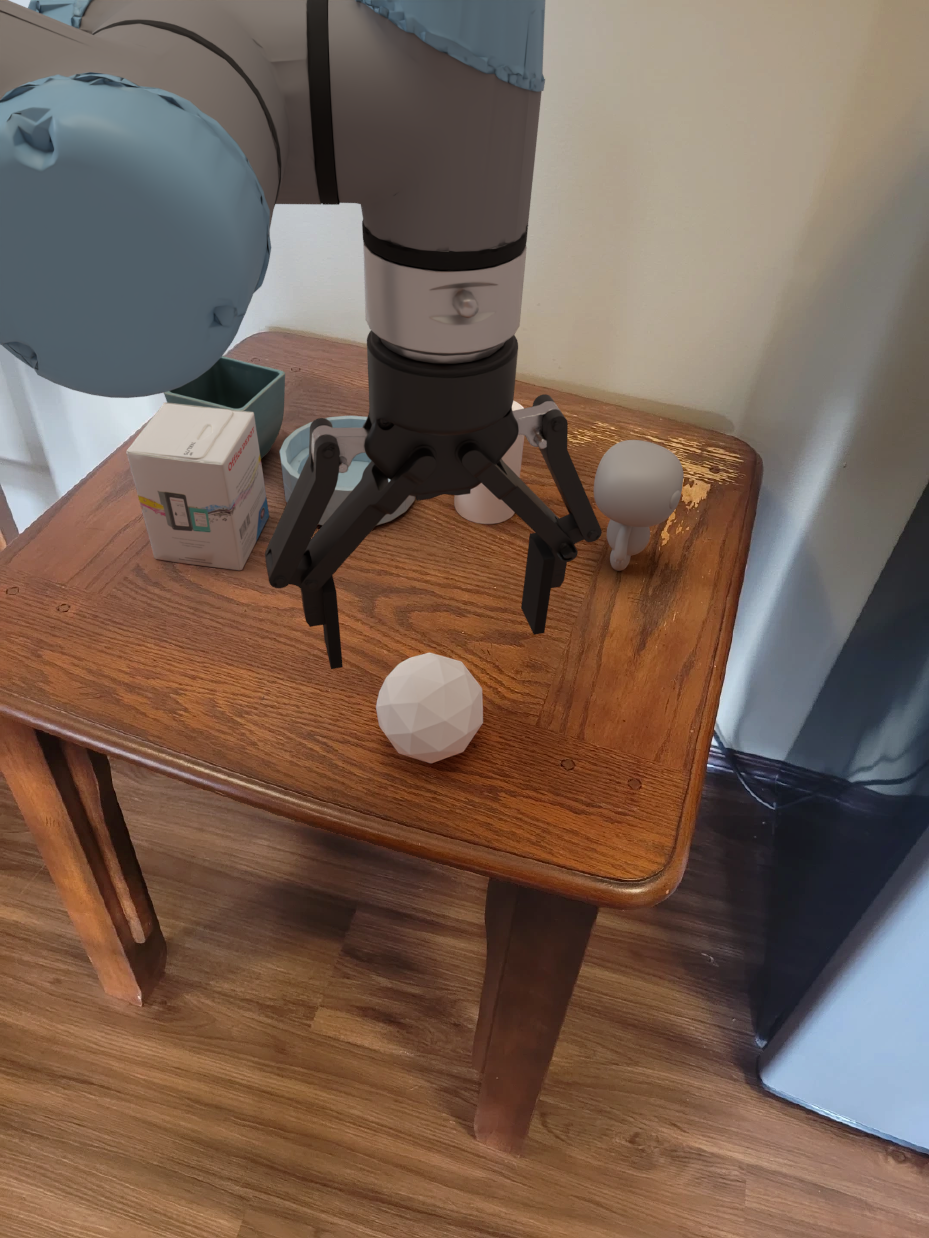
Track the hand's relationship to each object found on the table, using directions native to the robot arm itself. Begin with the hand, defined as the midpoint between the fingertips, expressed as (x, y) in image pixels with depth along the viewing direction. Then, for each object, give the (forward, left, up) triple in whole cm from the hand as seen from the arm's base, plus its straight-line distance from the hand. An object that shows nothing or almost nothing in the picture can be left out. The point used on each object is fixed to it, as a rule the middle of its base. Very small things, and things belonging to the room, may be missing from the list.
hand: (435, 637), depth 56 cm
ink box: (-31, +4, -11) cm, 33 cm away
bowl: (-27, +18, -11) cm, 34 cm away
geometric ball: (0, 0, -11) cm, 11 cm away
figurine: (-1, +28, -11) cm, 30 cm away
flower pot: (-40, +14, -11) cm, 44 cm away
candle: (-16, +26, -11) cm, 32 cm away
